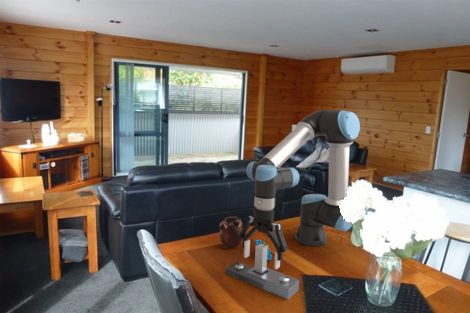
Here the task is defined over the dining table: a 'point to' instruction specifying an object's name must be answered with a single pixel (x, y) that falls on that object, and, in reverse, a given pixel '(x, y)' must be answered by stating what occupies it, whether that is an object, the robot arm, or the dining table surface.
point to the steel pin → (261, 259)
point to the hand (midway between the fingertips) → (261, 262)
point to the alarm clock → (230, 233)
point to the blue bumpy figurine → (267, 249)
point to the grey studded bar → (265, 279)
